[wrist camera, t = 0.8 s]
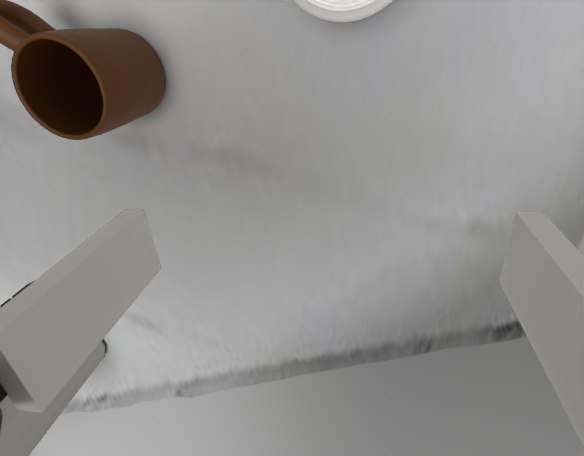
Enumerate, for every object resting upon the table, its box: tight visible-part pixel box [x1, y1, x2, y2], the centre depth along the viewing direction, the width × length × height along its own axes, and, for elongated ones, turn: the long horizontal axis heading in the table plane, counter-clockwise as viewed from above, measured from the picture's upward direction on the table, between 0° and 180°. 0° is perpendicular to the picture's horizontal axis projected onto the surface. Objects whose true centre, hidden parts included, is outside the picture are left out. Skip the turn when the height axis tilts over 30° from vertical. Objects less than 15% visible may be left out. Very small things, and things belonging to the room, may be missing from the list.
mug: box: [0, 0, 165, 140], centre depth 30 cm, size 12×8×9 cm, turn 47°
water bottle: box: [0, 340, 105, 456], centre depth 45 cm, size 9×8×25 cm
